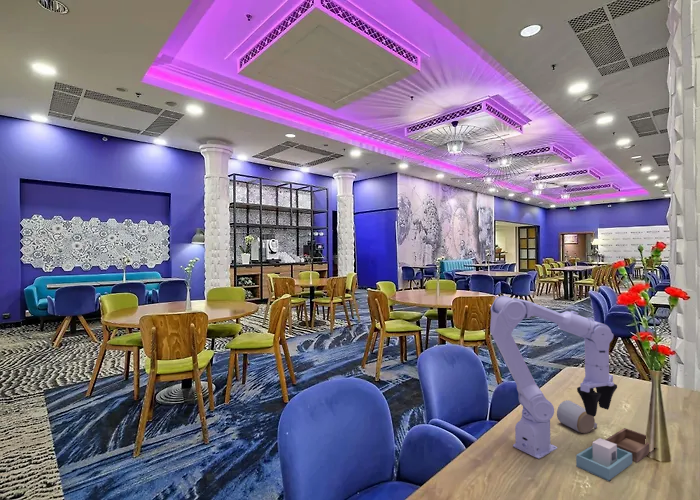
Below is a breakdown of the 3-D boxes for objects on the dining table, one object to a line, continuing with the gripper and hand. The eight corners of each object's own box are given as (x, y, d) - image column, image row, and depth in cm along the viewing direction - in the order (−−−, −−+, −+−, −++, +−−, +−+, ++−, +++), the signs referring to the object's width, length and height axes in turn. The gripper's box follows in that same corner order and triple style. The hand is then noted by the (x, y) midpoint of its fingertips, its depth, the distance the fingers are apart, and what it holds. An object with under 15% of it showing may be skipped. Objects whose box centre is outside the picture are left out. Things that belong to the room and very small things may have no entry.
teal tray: (609, 481, 91) (609, 469, 91) (576, 466, 97) (576, 454, 97) (632, 464, 97) (632, 453, 97) (600, 451, 104) (599, 440, 104)
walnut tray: (636, 464, 98) (636, 452, 98) (604, 450, 104) (604, 440, 104) (656, 449, 104) (656, 438, 104) (624, 437, 111) (624, 427, 111)
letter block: (610, 471, 94) (610, 449, 94) (592, 463, 98) (592, 442, 98) (618, 465, 96) (617, 444, 96) (600, 458, 100) (599, 437, 100)
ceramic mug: (579, 437, 112) (578, 411, 112) (556, 425, 120) (556, 401, 120) (604, 431, 115) (604, 407, 115) (581, 420, 123) (580, 397, 123)
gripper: (599, 372, 98) (600, 423, 98) (624, 362, 106) (625, 410, 106) (572, 365, 104) (573, 414, 104) (597, 357, 112) (598, 401, 112)
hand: (597, 411), depth 106 cm, fingers open, 7 cm apart
